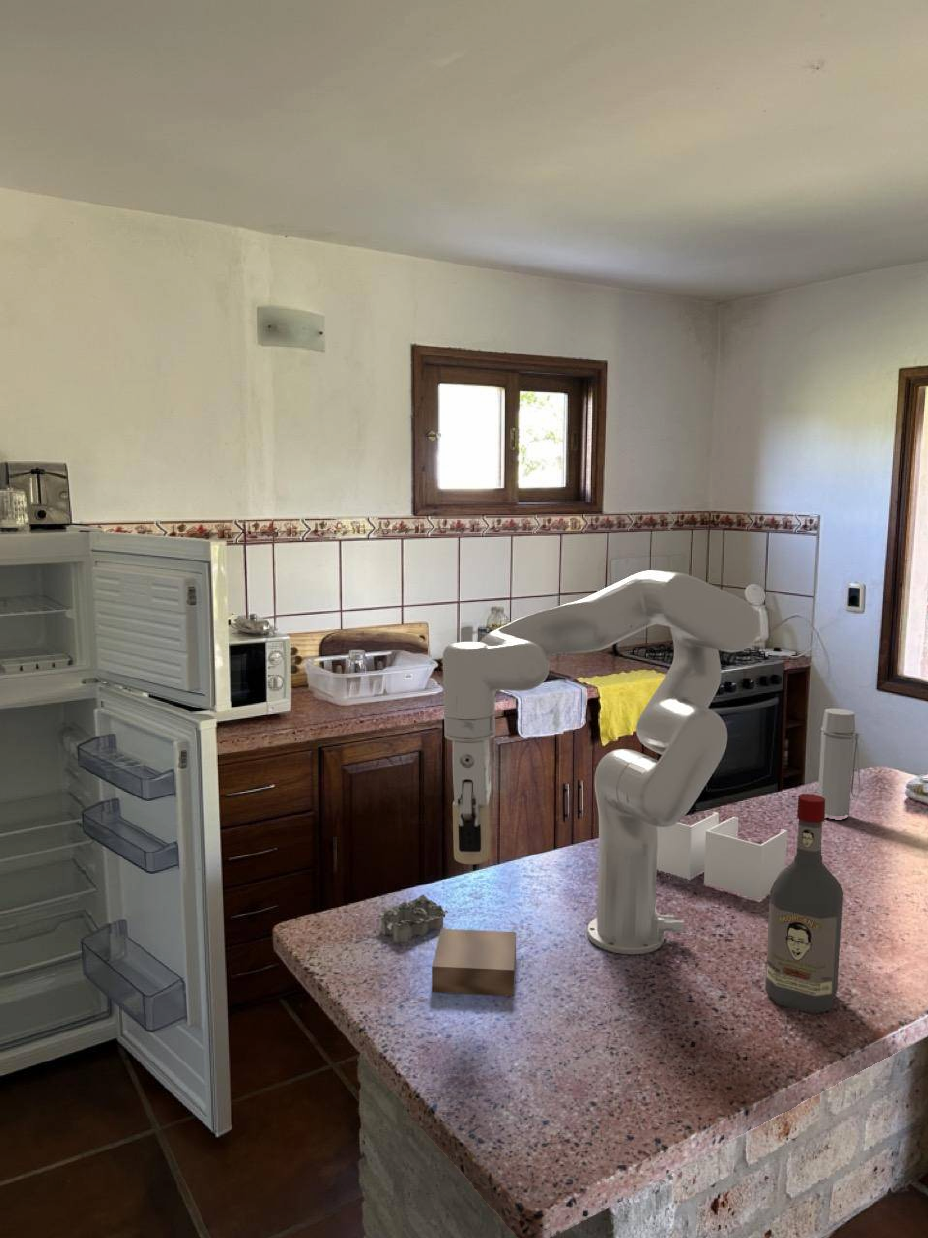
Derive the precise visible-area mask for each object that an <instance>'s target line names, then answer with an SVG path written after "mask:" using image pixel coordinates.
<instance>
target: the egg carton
mask: <svg viewBox="0 0 928 1238" xmlns="http://www.w3.org/2000/svg"><path fill="white" fill-rule="evenodd" d="M446 914H448V910H444V909H443V907H442V905H438V904H437V903H436V902H434V901H433V900H432V899H429V898H428V896H426V895H425V894H421V895H419V897H417V898H415V899H413V900H409V901H408V902H407V901H403V902H401V903H400V904H397V905H394V906H393V907H385V908H382V909H381V910H380V912H379V913H378V914H377V916H376V917H377V919H380V920H381V921H380V922H381V923H380V930H381V931H380V932H381V933H382V934H383V935H393V941H395V942H396V943H398V942H406V943H407V942H410V941H413V940H412V938H413V936H422V937H423V936H425V935H427V934H428V930H434V929H435V930H441V929H443V924H444V918H446ZM440 928H441V929H440Z"/></svg>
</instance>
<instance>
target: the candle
mask: <svg viewBox="0 0 928 1238" xmlns="http://www.w3.org/2000/svg"><path fill="white" fill-rule="evenodd" d="M472 805H476V801H472ZM472 812H474V814H475V809H472ZM490 818H491V817H490V802H489V803H488V805H487V806H486V807H483V805H479V825H481V851H480V852H461V851H460V850H459V824H460V806H459V807H458V806H457V805H456V804H455V800H453V802H452V830H453V831H452V832H453V833H452V835H453V838H452V839H453V857H454V861H456V862H458V863H460V864H465V865H479V864H483V863H486V862H487V861H489V860H490V858H491V829H490V825H491V824H490V822H491V819H490Z"/></svg>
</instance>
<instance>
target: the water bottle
mask: <svg viewBox="0 0 928 1238" xmlns="http://www.w3.org/2000/svg"><path fill="white" fill-rule="evenodd" d="M855 716H856V715H855V711H852V710H850V709H844V708H826V709H824V712H823V717H822V718H823V719H822V724H821V727H820V730H821V735H820V751H819V753H820V754H819V770H818V784H817V785H818V789H817V795H818V796H821V797H823V798H825V814H827V815H833V816H845V815H849V816H850V808H851V796H852V797H853V798H856V799H857V798H858V799H859V796H860V793H861V778H860V762H859V759H860V758H859V747H858V746H859V745H858V740H859V737H860V733H858V732H856V721H855V719H856V717H855ZM854 741H855V743H854ZM854 746H855V747H854ZM856 756H857V757H856ZM856 759H857V776H858V777H857V778H858V779H857V781H858V789H857V794H856V795H854V793H853V791H854V790H853V789H854V780H855V779H854V777H855V767H856Z"/></svg>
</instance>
